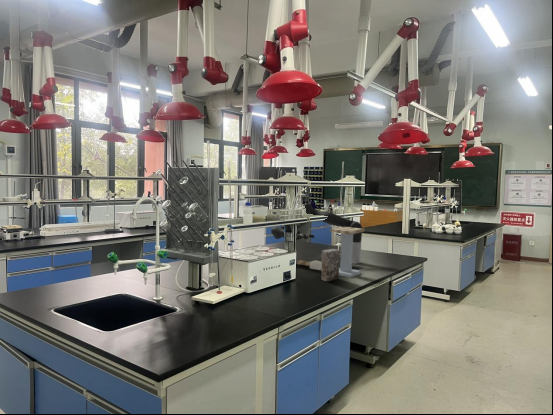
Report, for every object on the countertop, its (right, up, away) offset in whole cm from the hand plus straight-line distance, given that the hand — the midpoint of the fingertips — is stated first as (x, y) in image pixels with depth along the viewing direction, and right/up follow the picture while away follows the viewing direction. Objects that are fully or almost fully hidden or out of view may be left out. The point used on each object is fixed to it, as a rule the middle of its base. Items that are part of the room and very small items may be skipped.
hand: (311, 237), depth 289 cm
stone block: (+9, -26, -34) cm, 44 cm away
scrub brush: (0, -23, +1) cm, 23 cm away
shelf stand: (+23, -25, -16) cm, 38 cm away
